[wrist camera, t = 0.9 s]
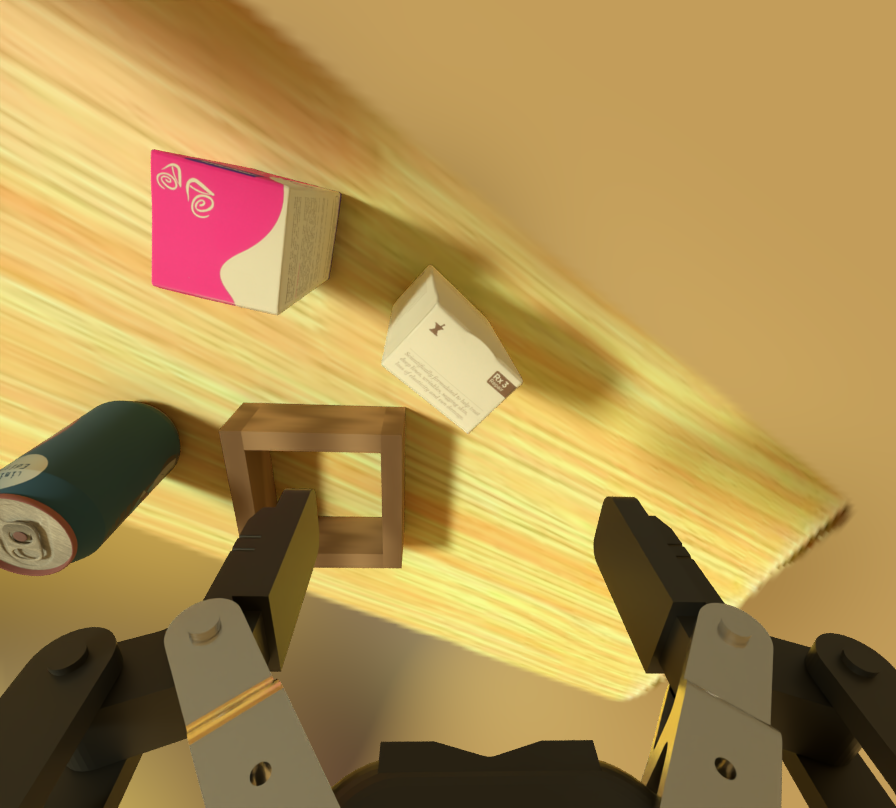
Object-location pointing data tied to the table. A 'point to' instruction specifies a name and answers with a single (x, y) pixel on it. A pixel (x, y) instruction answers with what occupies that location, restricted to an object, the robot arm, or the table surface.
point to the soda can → (82, 485)
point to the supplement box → (238, 233)
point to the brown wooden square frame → (322, 432)
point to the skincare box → (448, 351)
